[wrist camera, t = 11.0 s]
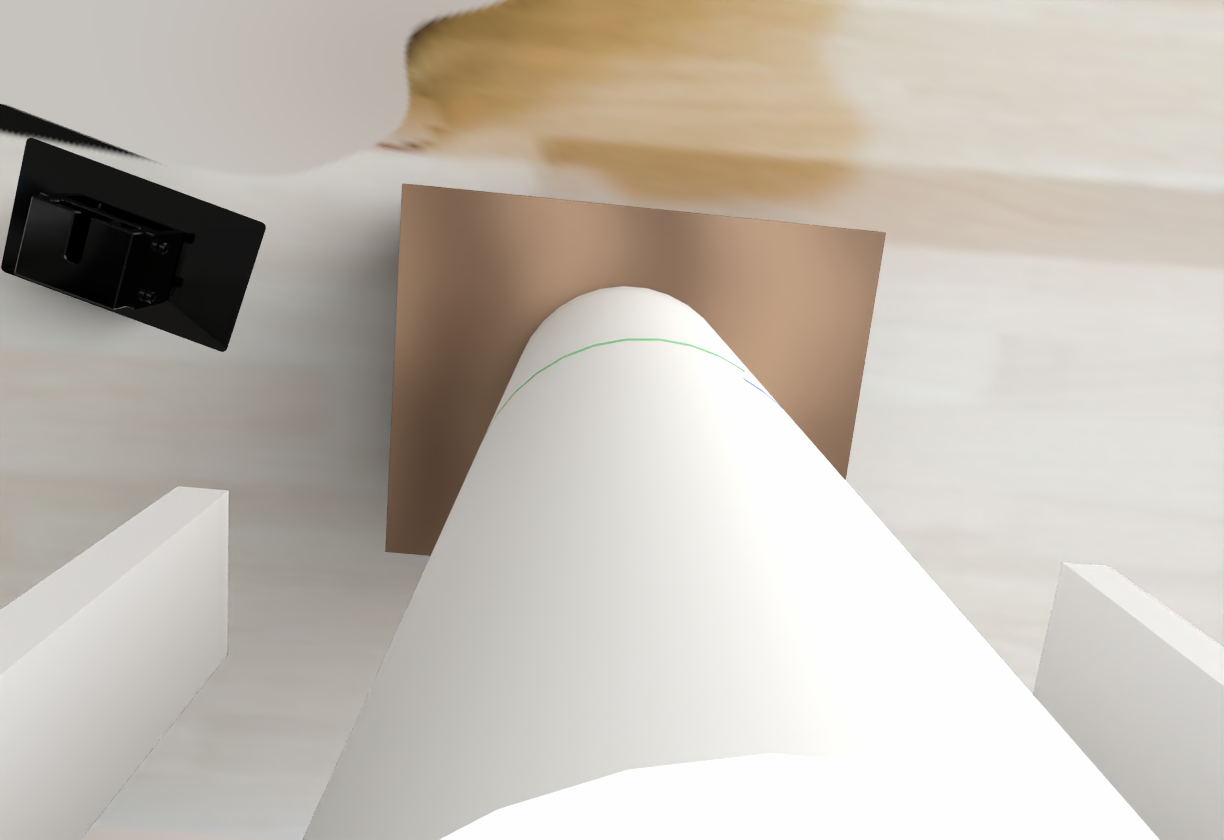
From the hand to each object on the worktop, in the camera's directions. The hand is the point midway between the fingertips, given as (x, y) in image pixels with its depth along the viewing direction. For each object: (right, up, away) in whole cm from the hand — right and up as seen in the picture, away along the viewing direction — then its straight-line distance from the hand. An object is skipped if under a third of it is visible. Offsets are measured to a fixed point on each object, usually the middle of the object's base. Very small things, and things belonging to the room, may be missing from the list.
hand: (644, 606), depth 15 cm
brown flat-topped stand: (0, +6, +23) cm, 24 cm away
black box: (-20, +10, +23) cm, 32 cm away
